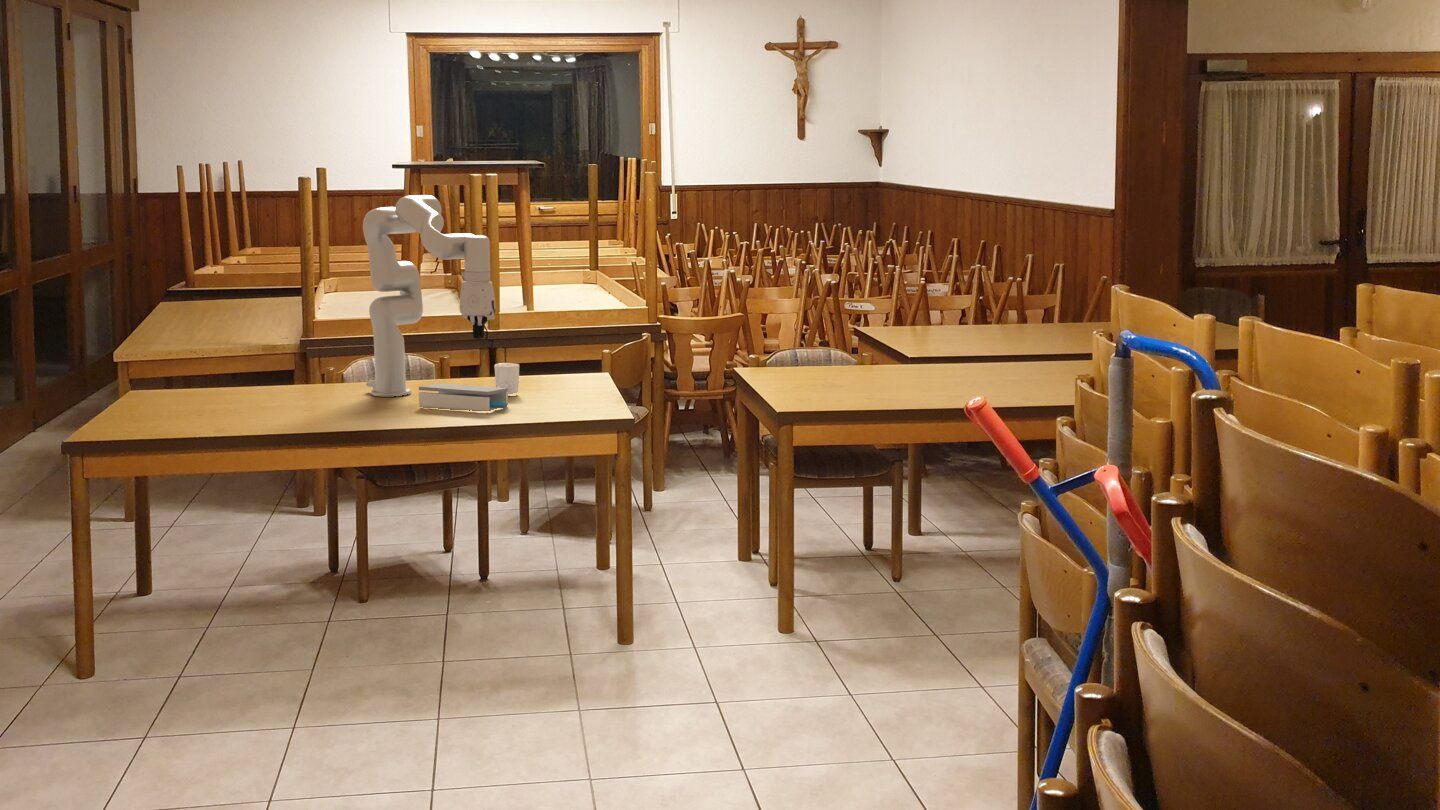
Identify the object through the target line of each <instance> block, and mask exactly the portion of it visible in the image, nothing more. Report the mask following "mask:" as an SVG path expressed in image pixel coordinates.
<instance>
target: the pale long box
mask: <svg viewBox="0 0 1440 810" xmlns="http://www.w3.org/2000/svg"><path fill="white" fill-rule="evenodd" d="M489 400H491V401H504V402H506V403H507V405H508V406H509V397H508V392H502V393H496V394H491V395H480V394H466V393H453V392H439V391H438V392H426V391H425V392H423V391H419V392H418V408H419V407H423V408H438V409H450V410H469V411H470V410H472V411H491V410H494V409H497V407H490V403H489Z"/></svg>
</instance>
